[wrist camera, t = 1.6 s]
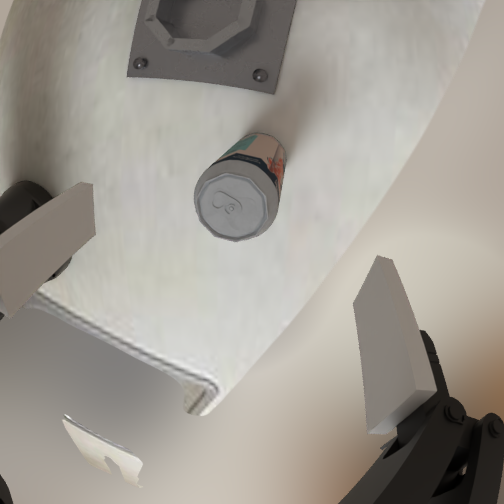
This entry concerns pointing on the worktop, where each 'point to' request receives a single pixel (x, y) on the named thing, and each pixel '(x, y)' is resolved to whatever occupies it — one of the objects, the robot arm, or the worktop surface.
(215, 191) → the beer can
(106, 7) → the worktop surface
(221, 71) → the duct flange
